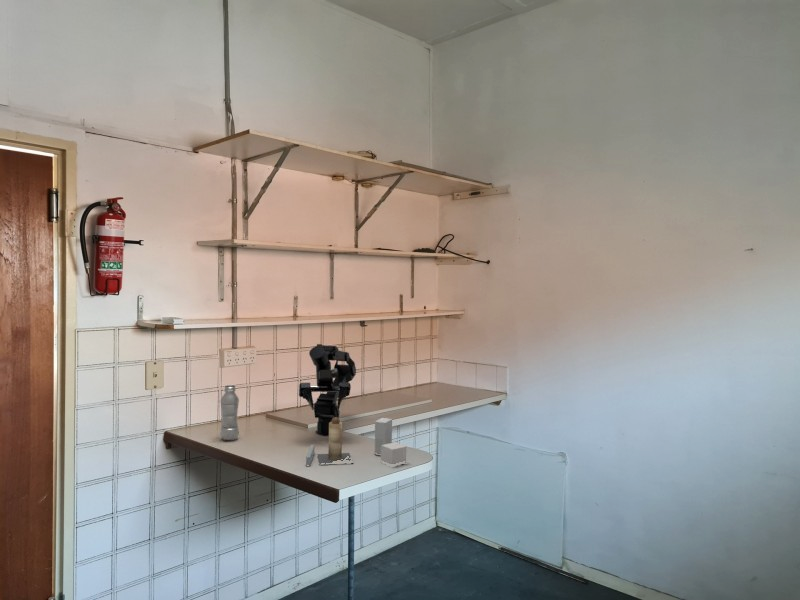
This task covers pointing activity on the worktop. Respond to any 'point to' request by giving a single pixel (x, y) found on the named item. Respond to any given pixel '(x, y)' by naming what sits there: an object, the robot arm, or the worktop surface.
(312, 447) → the rail
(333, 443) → the mill
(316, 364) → the robot arm
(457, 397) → the worktop surface
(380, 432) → the skincare box
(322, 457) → the mat
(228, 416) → the plastic bottle
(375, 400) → the worktop surface
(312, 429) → the worktop surface
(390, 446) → the grey cube
